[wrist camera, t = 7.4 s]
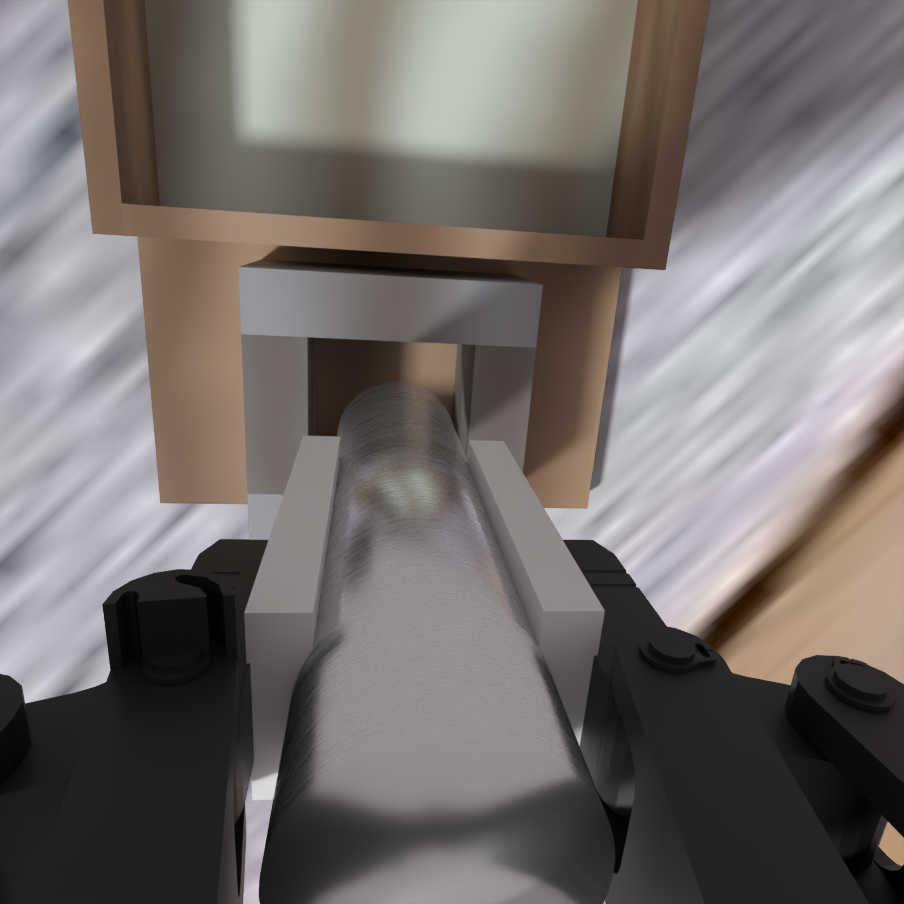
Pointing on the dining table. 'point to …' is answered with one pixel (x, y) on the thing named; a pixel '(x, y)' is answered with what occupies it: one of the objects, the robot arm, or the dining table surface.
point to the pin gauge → (426, 699)
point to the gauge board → (381, 214)
